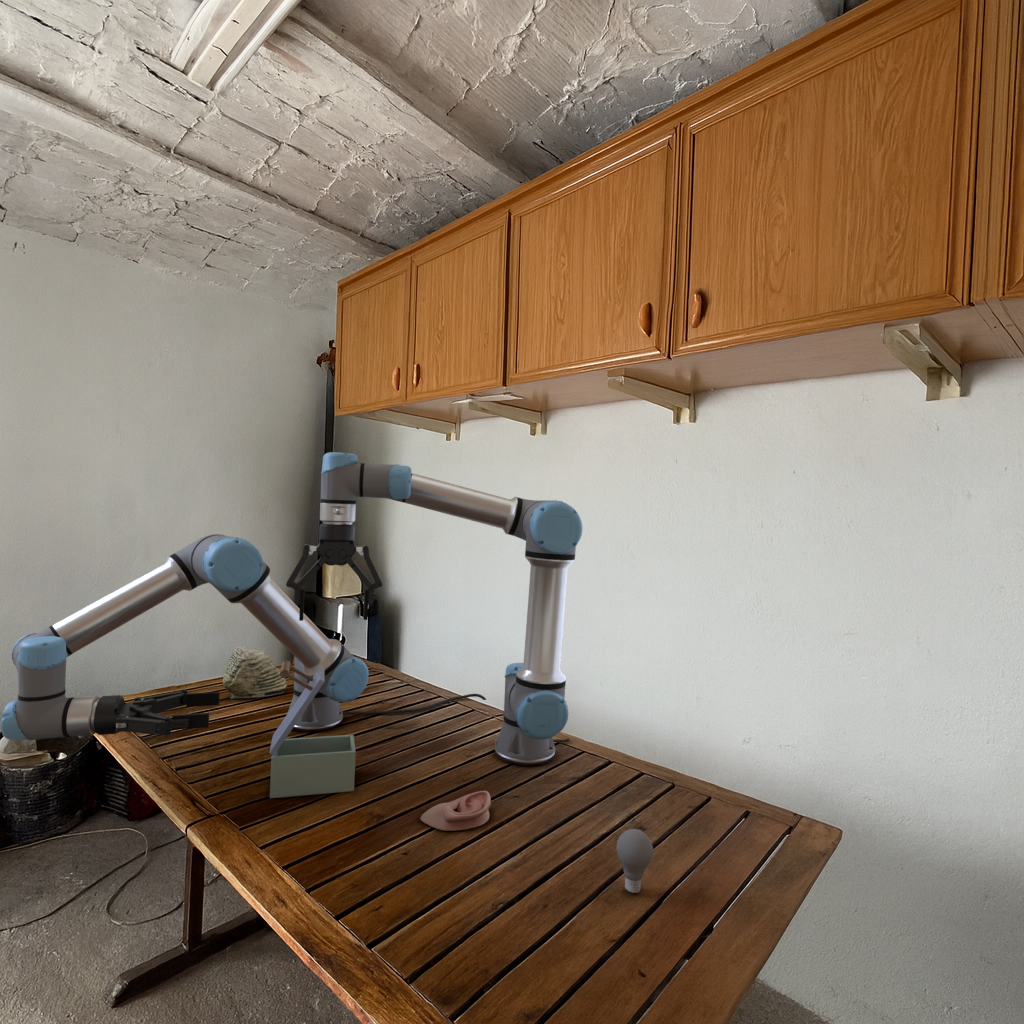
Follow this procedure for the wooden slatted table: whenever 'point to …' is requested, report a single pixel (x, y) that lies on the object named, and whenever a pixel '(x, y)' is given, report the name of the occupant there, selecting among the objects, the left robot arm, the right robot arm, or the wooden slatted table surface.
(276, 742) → the lid
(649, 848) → the light bulb
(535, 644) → the right robot arm
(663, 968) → the wooden slatted table surface
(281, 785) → the chest
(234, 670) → the fossil
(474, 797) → the anatomical model
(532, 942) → the wooden slatted table surface
